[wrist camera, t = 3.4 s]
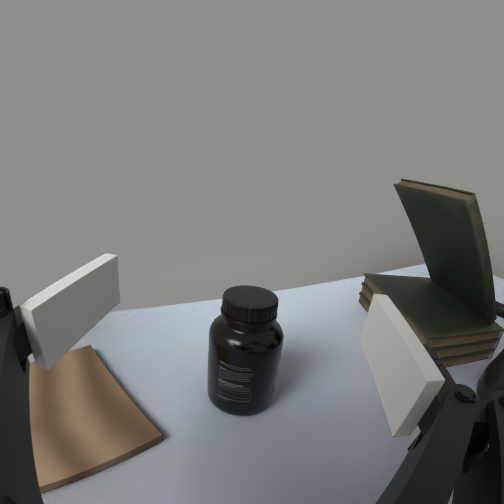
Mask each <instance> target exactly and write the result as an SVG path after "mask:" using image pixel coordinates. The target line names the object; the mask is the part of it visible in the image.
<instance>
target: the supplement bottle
mask: <svg viewBox="0 0 504 504" xmlns="http://www.w3.org/2000/svg"><path fill="white" fill-rule="evenodd" d="M277 308H278V298H277V296H276V295H275V294H274V293H273V292H271V291H269V290H267V289H265V288H261V287H256V286H247V285H245V286H235V287H231V288H229V289H227V290H226V291H225V292H224V294H223V300H222V306H221V315H219V316H218V317H217V318H216V319H215V320H214V321H213V323H212V324H211V326H210V331H209V351H208V395H209V398H210V400H211V402H212V403H213V404H214V405H215V406H216V407H217V408H219V409H220V410H222V411H224V412H226V413H229V414H233V415H240V416H244V415H251V414H255V413H257V412H260V411H261V410H263V409H264V408H265V407H266V406H267V405H268V404H269V402H270V400H271V398H272V394H273V389H274V385H275V380H276V375H277V371H278V366H279V361H280V356H281V351H282V346H283V339H284V335H283V331H282V328H281V326H280V325H279V323H278V322H277V321H276V319H277Z"/></svg>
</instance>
